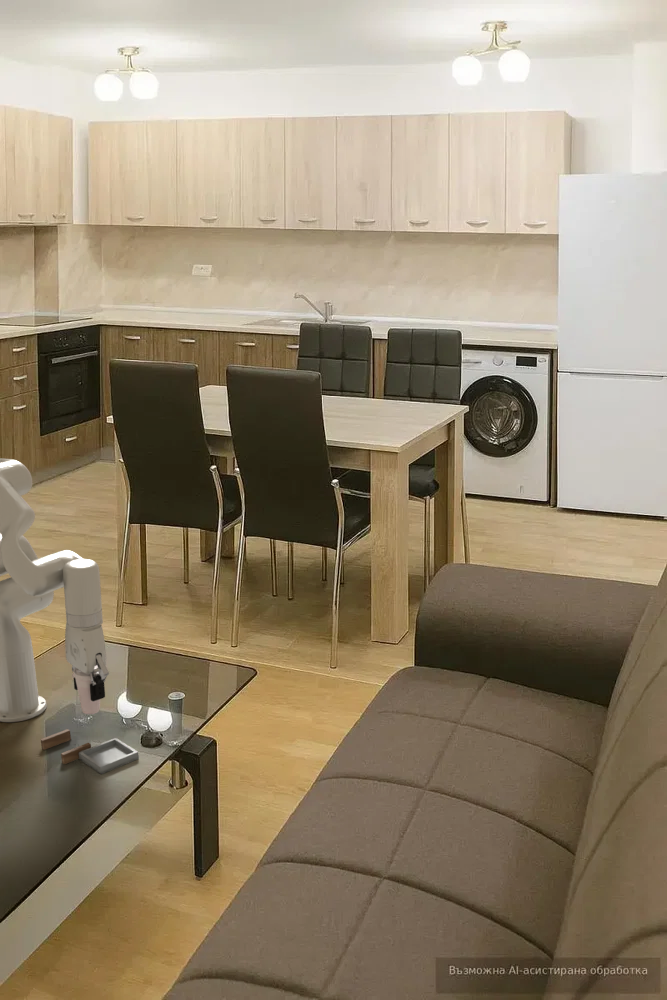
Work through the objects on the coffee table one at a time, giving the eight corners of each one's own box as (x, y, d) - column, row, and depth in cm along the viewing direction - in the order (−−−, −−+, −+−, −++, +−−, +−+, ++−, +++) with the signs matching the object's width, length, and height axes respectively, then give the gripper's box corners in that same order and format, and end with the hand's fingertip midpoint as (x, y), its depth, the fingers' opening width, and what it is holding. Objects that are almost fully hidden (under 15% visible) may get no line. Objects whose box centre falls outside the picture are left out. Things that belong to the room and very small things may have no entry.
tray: (79, 759, 233) (78, 752, 232) (116, 744, 238) (115, 737, 238) (101, 774, 226) (100, 767, 226) (138, 758, 232) (138, 751, 231)
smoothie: (98, 718, 237) (94, 659, 233) (70, 715, 238) (66, 656, 234) (110, 704, 243) (106, 646, 239) (83, 701, 244) (79, 644, 240)
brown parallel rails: (41, 748, 238) (40, 739, 237) (68, 738, 242) (67, 728, 241) (64, 764, 231) (63, 755, 230) (91, 753, 235) (90, 744, 234)
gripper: (48, 609, 238) (54, 685, 243) (89, 634, 225) (94, 713, 231) (79, 600, 243) (84, 675, 248) (121, 624, 230) (125, 702, 236)
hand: (89, 692), depth 239 cm, fingers closed on smoothie, 6 cm apart
